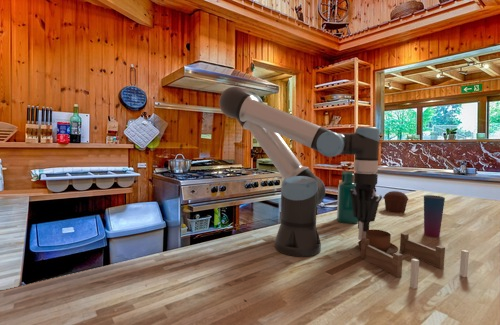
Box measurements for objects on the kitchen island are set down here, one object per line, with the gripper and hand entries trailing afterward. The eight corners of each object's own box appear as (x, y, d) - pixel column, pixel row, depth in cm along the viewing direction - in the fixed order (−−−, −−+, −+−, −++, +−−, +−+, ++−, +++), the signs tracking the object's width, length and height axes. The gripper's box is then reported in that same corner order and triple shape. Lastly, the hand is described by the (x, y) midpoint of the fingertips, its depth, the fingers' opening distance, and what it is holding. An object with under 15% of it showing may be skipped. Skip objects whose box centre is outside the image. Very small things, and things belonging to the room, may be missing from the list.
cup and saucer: (364, 242, 102) (365, 225, 102) (401, 250, 95) (402, 232, 94) (352, 252, 93) (353, 233, 92) (393, 262, 85) (394, 242, 85)
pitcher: (358, 224, 124) (361, 173, 122) (338, 222, 125) (340, 173, 124) (355, 218, 133) (357, 171, 131) (336, 216, 135) (338, 170, 133)
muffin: (384, 212, 145) (385, 192, 144) (381, 207, 155) (382, 189, 154) (410, 214, 141) (411, 194, 140) (405, 209, 152) (406, 190, 151)
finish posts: (414, 288, 70) (415, 261, 69) (409, 286, 71) (411, 259, 70) (467, 276, 76) (468, 251, 76) (462, 274, 78) (464, 249, 77)
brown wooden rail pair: (396, 277, 76) (398, 255, 75) (360, 257, 88) (361, 238, 88) (443, 267, 82) (445, 247, 81) (403, 250, 94) (404, 232, 94)
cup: (422, 236, 109) (424, 197, 108) (420, 231, 115) (423, 194, 114) (443, 239, 106) (446, 199, 104) (441, 234, 112) (443, 196, 110)
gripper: (389, 174, 93) (386, 244, 95) (360, 170, 105) (358, 232, 107) (371, 175, 90) (368, 247, 92) (344, 170, 103) (341, 234, 104)
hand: (362, 239), depth 100 cm, fingers closed
